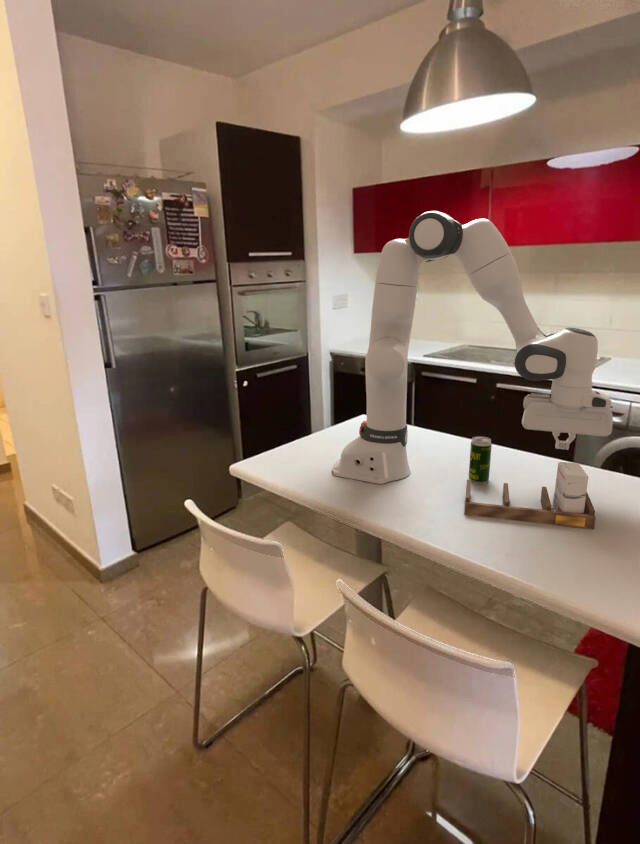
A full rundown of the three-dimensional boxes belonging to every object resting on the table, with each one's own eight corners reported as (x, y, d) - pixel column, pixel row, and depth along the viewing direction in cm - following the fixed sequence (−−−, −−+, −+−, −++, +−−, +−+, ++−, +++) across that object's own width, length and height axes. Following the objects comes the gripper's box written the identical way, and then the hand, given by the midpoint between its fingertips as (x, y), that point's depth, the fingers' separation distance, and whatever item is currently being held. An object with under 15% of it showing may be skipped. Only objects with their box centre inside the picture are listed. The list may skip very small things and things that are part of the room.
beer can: (477, 474, 145) (480, 434, 141) (492, 481, 140) (496, 440, 137) (464, 479, 142) (466, 438, 138) (479, 486, 138) (482, 444, 134)
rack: (464, 515, 122) (465, 500, 121) (466, 493, 133) (467, 479, 132) (594, 530, 114) (596, 513, 113) (584, 505, 125) (586, 490, 124)
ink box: (583, 524, 117) (590, 476, 113) (560, 522, 118) (566, 475, 114) (573, 506, 125) (579, 462, 121) (551, 505, 126) (557, 460, 122)
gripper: (525, 395, 125) (518, 448, 129) (619, 402, 119) (608, 457, 123) (523, 389, 131) (517, 440, 135) (613, 395, 125) (603, 448, 129)
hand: (561, 448), depth 129 cm, fingers closed
